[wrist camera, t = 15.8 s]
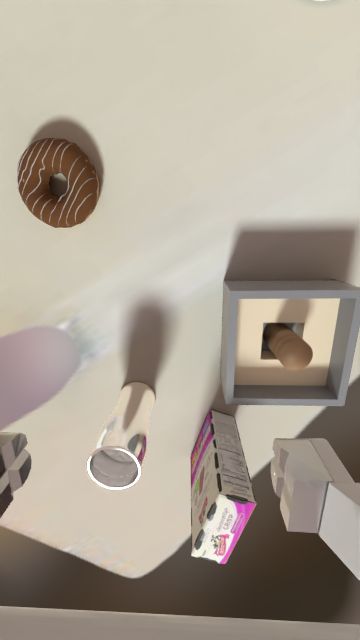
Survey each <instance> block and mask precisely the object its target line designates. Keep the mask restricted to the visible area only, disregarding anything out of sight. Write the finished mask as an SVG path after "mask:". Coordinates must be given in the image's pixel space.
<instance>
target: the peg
mask: <svg viewBox="0 0 360 640" xmlns="http://www.w3.org/2000/svg"><path fill="white" fill-rule="evenodd" d="M263 339H264V341H265V342H266V344H267V345H268V346H269V348H270V349H271V350H272V352H273V353H274V354H275V356H276V357H277V358H278V360H279V361H280V363H281V364H282V365H283V366H284V367H285V368H286V369H289V370H293V371H296V370H301V369H303V368H305V367H306V366H308V365H309V363H310V362H311V360H312V357H313V351H312V348H311V347H310V345H309V344H308V343H306V342H305V341H304V340H303V339H302V338H301V337H300V336H298V335H297V334H296V333H295V332H294V331H293V330H292V329H290V328H289V327H288V326H287V325H286V324H284V323H270V324H269V325H268V326H267V327H266V328H265V329H264V332H263Z"/></svg>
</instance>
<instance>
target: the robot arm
mask: <svg viewBox="0 0 360 640" xmlns="http://www.w3.org/2000/svg"><path fill="white" fill-rule="evenodd" d="M314 1H330V0H314ZM27 443H28V442H27V439H26V435H24V434H22V433H8V432H0V518H1V517H2V515H3V514H4V512H5V511H6V509H7V508H8V506H9V505H10V503H11V502H12V500H13V492H14V491H16V490H17V489H19V488H20V487H22V486H23V484H24V483H25V481H26V479H27V478H28V475H29V472H30V469H31V456H30V454H29V453H28V452H27V451H26V450H25V449H24V448H25V447H26V445H27ZM273 451H274V454H275V457H274V458H273V459H272V460H271V476H272V483H273V487H274V491H275V494H276V495H277V496H278V497H279V498H281V503H280V510H281V513H282V516H283V519H284V522H285V525H286V528H287V531H296V532H311V533H319V536H320V537H321V538H322V539H323V540H324V541H325V542H326V544H328V546H329V547H330V548H331V549H332V550H333V551H334V552H335V554H336V555H337V556H338V557H339V558H340V559H341V560H342V561H343V562H344V564H345V565H346V566H347V567H348V568H349V569H350V570H351V571H352V572H353V574H354V575H355V576H356V577H357V578H358V579H359V580H360V483H355V482H354V481H353V479H352V478H351V476H350V475H349V473H348V472H347V470H346V469H345V467H344V466H343V464H342V463H341V461H340V460H339V458H338V457H337V455H336V454H335V452H334V451H333V449H332V447H331V446H330V444H329V443H328V441H326V440H325V439H280V438H275V440H274V442H273ZM0 640H360V625H355V624H354V625H353V624H336V623H316V622H298V621H278V620H259V619H239V618H220V617H202V616H182V615H163V614H143V613H125V612H105V611H85V610H64V609H46V608H25V607H6V606H0Z"/></svg>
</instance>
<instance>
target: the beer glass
mask: <svg viewBox="0 0 360 640" xmlns="http://www.w3.org/2000/svg"><path fill="white" fill-rule="evenodd" d="M154 403H155V394H154V392H153V390H152V389H151V388H150V387H149V386H148V385H146V384H144V383H141V382H132V383H129V384H127V385H126V386H124V387H123V389H122V390H121V393H120V397H119V403H118V405H117V406H116V408H115V409H114V410H113V412H112V413H111V414H110V415H109V417H108V418H107V419H106V421H105V422H104V424H103V425H102V427H101V429H100V431H99V433H98V435H97V437H96V440H95V442H94V445H93V448H92V450H91V453H90V456H89V458H88V461H87V470H88V473H89V475H90V476H91V478H92V479H93V480H94V481H95V482H96V483H98V484H99V485H101V486H103V487H105V488H109V489H116V490H118V489H125V488H128V487H130V486H132V485H133V484H135V483H136V482H137V481H138V479H139V477H140V474H141V470H142V467H143V464H144V461H145V457H146V453H147V449H148V444H149V433H150V427H149V414H150V411H151V409H152V408H153V406H154Z"/></svg>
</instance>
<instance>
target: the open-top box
mask: <svg viewBox="0 0 360 640" xmlns="http://www.w3.org/2000/svg"><path fill="white" fill-rule="evenodd" d="M270 323H284V324H286V325H287V326H288V327H289V328H290V329H292V330H293V331H294V332H295V333H296V334H297V335H298V336H300V337H301V338H302V339H303V340H304V341H305V342H306V343H308V344H309V345H310V347H311V348H312V351H313V357H312V360H311V362H310V363H309V365H308V366H306V367H305V368H303V369H301V370H296V371H293V370H289V369H286V368H285V367H284V366H283V365H282V364H281V363H280V361H279V360H278V358H277V357H276V356H275V354H274V353H273V352H272V350H271V349H270V348H269V346H268V345H267V344H266V342H265V341H264V339H263V332H264V329H265V328H266V327H267V326H268V325H269V324H270ZM359 327H360V288H359V287H356V286H353V285H350V284H347V283H344V282H341V281H337V280H238V281H224V283H223V314H222V344H221V374H220V378H221V383H222V388H223V394H224V399H225V404H229V405H303V406H344V404H345V398H346V393H347V388H348V383H349V378H350V373H351V368H352V362H353V357H354V352H355V347H356V342H357V337H358V332H359Z"/></svg>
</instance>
